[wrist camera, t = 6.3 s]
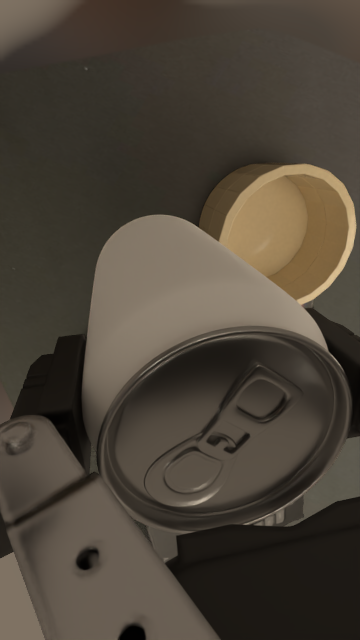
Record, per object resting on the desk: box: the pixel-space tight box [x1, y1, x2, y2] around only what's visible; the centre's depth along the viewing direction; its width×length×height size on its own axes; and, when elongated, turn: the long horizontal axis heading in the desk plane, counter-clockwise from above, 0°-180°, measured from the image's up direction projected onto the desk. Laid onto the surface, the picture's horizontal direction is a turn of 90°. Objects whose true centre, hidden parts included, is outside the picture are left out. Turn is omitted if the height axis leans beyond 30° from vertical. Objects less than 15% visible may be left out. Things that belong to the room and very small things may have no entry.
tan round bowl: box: [199, 163, 356, 305], centre depth 36 cm, size 14×14×8 cm
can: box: [81, 215, 353, 534], centre depth 13 cm, size 6×6×12 cm
